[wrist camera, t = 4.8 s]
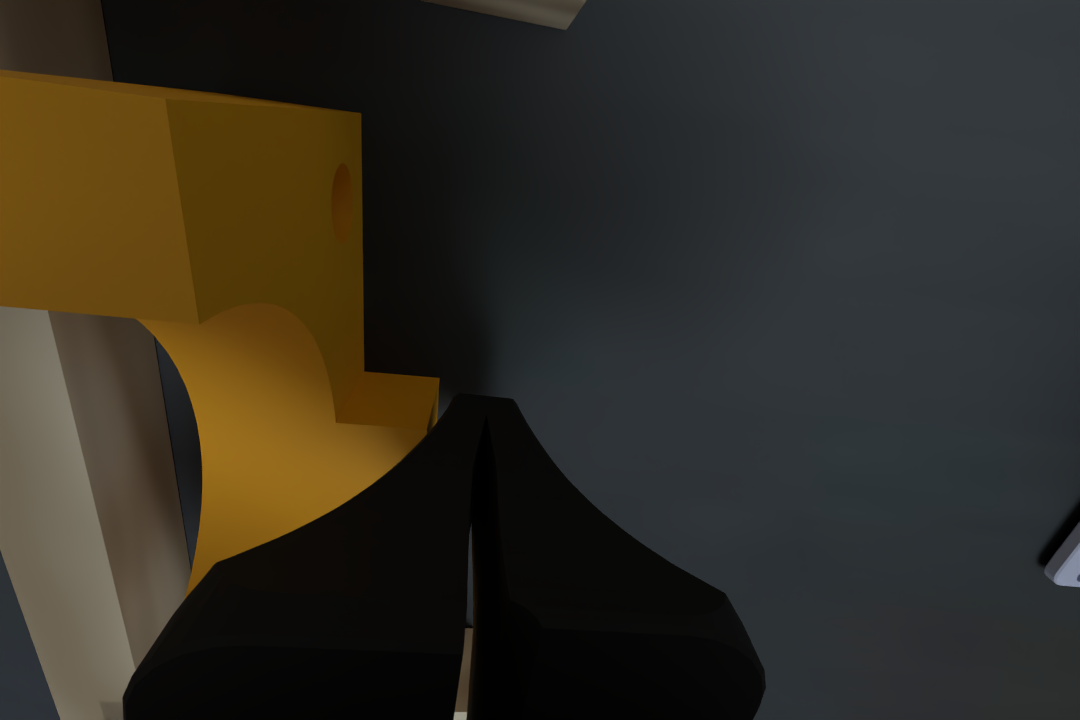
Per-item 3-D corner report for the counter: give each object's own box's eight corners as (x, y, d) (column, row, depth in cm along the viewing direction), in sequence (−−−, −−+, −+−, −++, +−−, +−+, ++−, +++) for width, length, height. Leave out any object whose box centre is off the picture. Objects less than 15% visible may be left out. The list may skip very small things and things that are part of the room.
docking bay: (587, -108, 9) (618, -191, 6) (466, 670, 17) (461, 756, 14) (-90, -270, 7) (-352, -444, 5) (134, 657, 15) (71, 749, 13)
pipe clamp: (429, 572, 15) (382, 856, 9) (274, 565, 15) (120, 863, 9) (454, 126, 10) (388, 130, 4) (221, 93, 10) (-207, 48, 4)
